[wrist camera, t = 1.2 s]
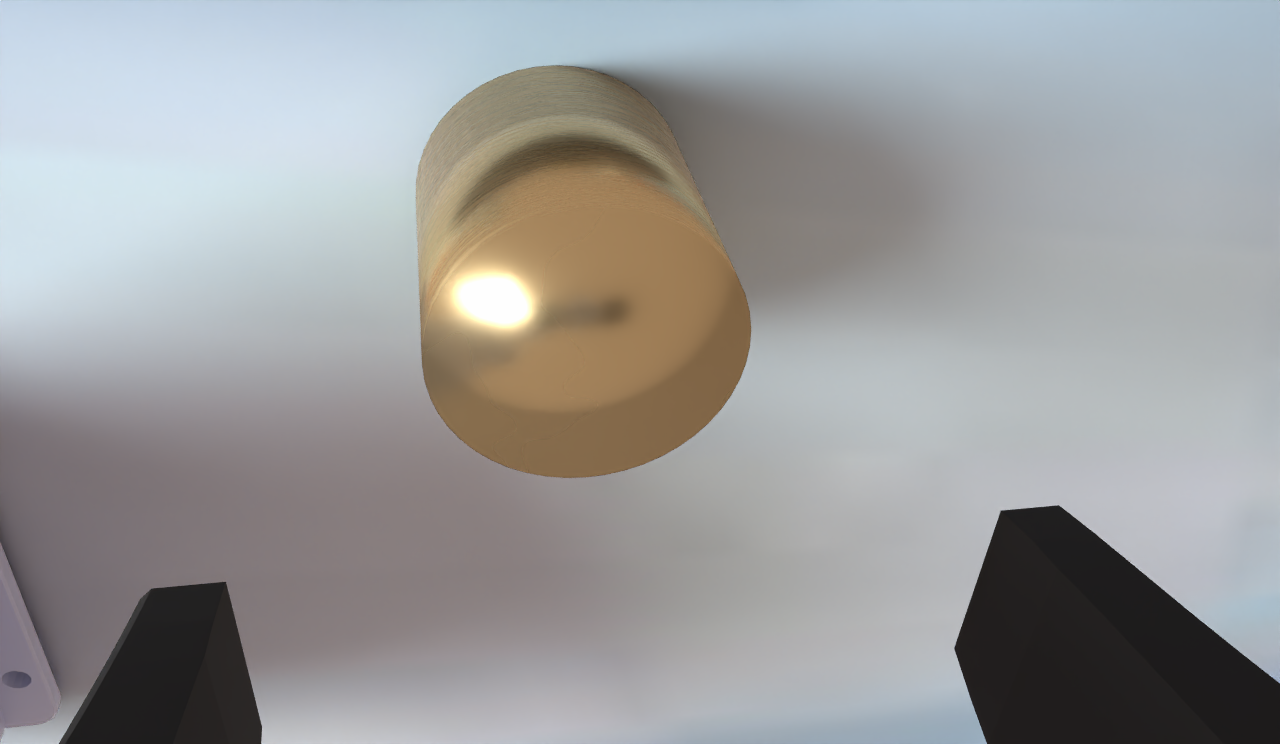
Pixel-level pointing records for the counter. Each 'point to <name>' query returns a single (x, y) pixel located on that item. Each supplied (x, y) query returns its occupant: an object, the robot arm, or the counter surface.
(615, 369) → the cylinder
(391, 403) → the counter surface
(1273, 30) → the counter surface
